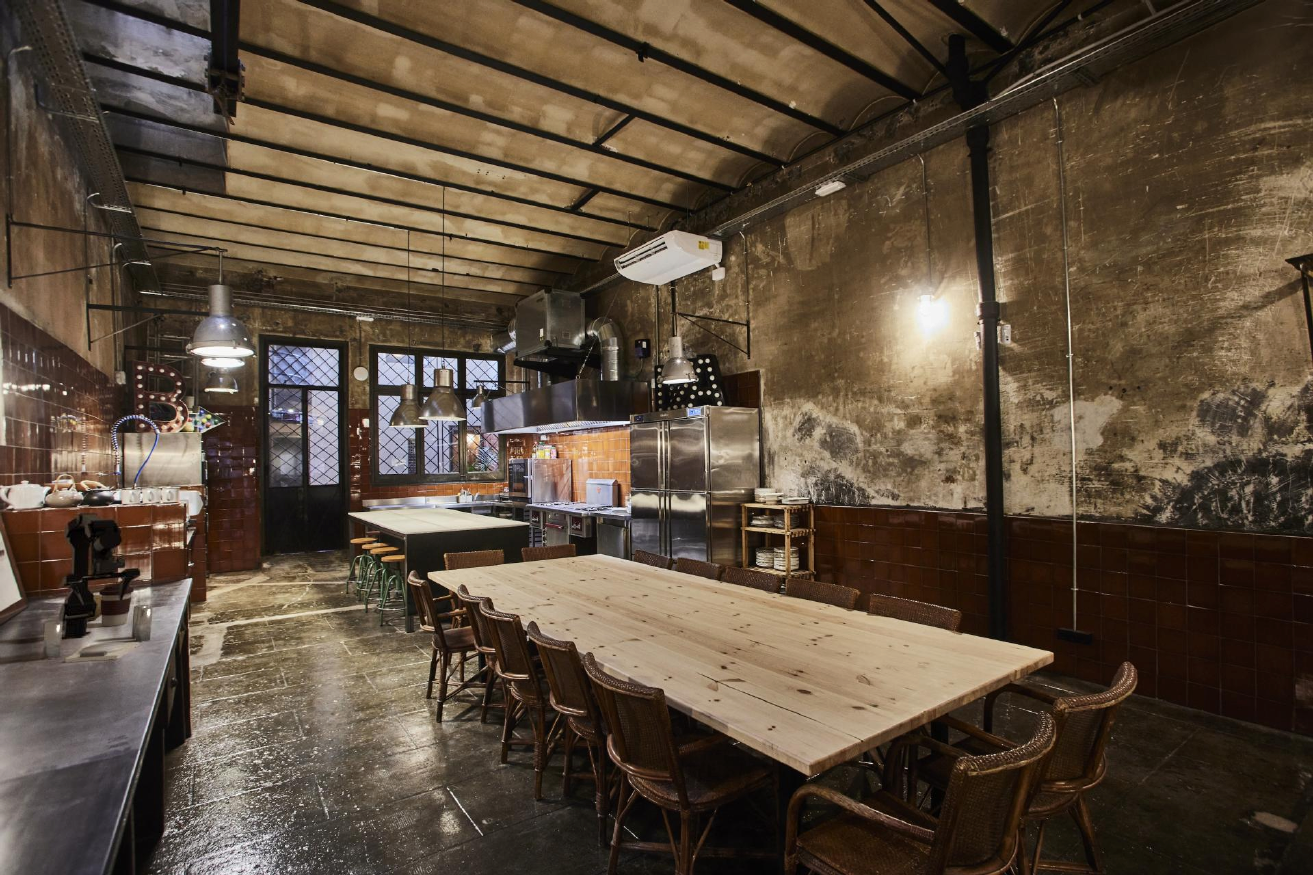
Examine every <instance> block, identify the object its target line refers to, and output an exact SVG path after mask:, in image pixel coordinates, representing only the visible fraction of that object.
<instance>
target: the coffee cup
mask: <svg viewBox="0 0 1313 875" xmlns="http://www.w3.org/2000/svg"><path fill="white" fill-rule="evenodd" d="M119 588H120V583H112V584H106V585H105V586H104V588H102V589H100V590H99V592H98V595H101V625H102V627H118V626H122V625H125V624H127V623H128V616H129V612H130V608H131V603H132V602H131V601H132V593H133V592H134V589H135V588H134V587H132V586H130V584H129V585H128V586H127V589H126V591H125V594H124V596H123V599H122V601H120V599H119Z"/></svg>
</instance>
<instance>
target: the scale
mask: <svg viewBox="0 0 1313 875" xmlns="http://www.w3.org/2000/svg"><path fill="white" fill-rule="evenodd" d="M140 643H141V642H136V641H135V642H134V641H132V642H117V641H116V642H115V641H114V642H105V643H97V644H90V645H89V646H85V647H83V648H81V650H79V651H77V652H75V653H72V654H71V655H70V656H68V657H66V658H65V660H64V663H65V662H66V663H77V662H80V663H81V662H91V661H90V660H97V661H110V660H111V659H113V660H118V659H120V658H122V657H123V656H125V655H126V654H128V653H130V652H131V651H133V650H134V649H136V648H138V647H139V646H140ZM135 647H136V648H135ZM132 649H133V650H132ZM124 654H125V655H124ZM117 658H118V659H117ZM109 659H110V660H109Z"/></svg>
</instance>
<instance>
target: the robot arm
mask: <svg viewBox="0 0 1313 875" xmlns="http://www.w3.org/2000/svg"><path fill="white" fill-rule="evenodd" d="M115 521H116V520H115V519H114V518H113V519H112V518H108V519H106V518H104V519H103V518H102V517H100V516H98V514H97V513H95V512H89V513H88V512H81V513H78V514H76V517H75V518H74V519H72V520H70V521H68V522H67V524H66V526H65V528H64V532H63V537H64V539H65V540H66V541H65V542H66V544H67V546H68V547H69V548H70V549H71V573H68V574H66V575H65V576H64V577H63V578H62V581H61V586H62V587H67V589H70V592H69V593H68V594H67V596H65V598H64V601H63V602H64V603H62V605H61V608H60V610H59V613H58V619H59V620H58V621H63V622H65V623H64V634H62V639H73V638H76V639H77V638H84V637H86V636H87V635H89V634H91V633H92V631H87V630H88V629H87V626H88V620H87V618H90V617H94V616H95V610H96V607H97V603H96V601H95V600H94V595H95V594H94V593H93V592H91V590H90V589H89V582H91V581H100V580H112V579H121V580H120V581H119V584H120V588H119V599H120V601H122V599H123V596H124V594H125V591H126V589H127V586H128V585H129V586H130V583H132V582H133V581H134V580H136V579H138V578H139V577H140V576H141V569H140V568H138V567H135V568H134V567H133V568H125V567H126V558H125V557H119V558H116V560H115V556H114V550H115V549H116V548H117V547H119V546H120V545H121V544H122V541H123V538H122V535H121V534H122V530H121V528H120V527H119V525H118V523H117V522H115ZM89 555H90V557H89ZM89 558H90V559H89ZM89 566H90V574H89ZM119 569H124V570H122V571H119Z"/></svg>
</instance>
